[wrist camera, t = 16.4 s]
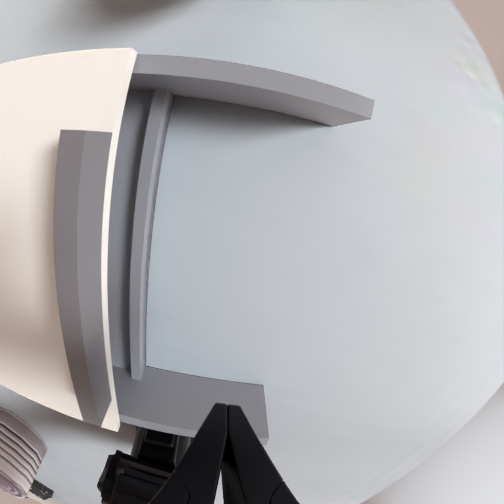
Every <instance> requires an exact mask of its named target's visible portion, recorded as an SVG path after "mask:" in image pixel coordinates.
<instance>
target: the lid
mask: <svg viewBox="0 0 504 504" xmlns="http://www.w3.org/2000/svg"><path fill="white" fill-rule="evenodd" d="M136 56H137V52H136V51H135V50H134V49H133V48H107V49H90V50H79V51H69V52H61V53H53V54H47V55H41V56H35V57H29V58H24V59H19V60H15V61H10V62H6V63H2V64H0V384H1V385H3V386H5V387H6V388H8V389H10V390H12V391H14V392H16V393H18V394H20V395H22V396H24V397H26V398H28V399H30V400H33V401H35V402H37V403H39V404H41V405H44V406H46V407H48V408H51V409H53V410H56V411H58V412H60V413H63V414H66V415H68V416H71V417H73V418H76V419H79V420H82V421H84V422H87V423H90V424H93V425H96V426H99V427H103V428H106V429H109V430H112V431H116V432H118V430H119V427H120V419H119V413H118V407H117V401H116V394H115V387H114V379H113V371H112V361H111V351H110V338H109V322H108V294H107V259H108V232H109V215H110V203H111V192H112V182H113V173H114V165H115V158H116V151H117V144H118V138H119V132H120V127H121V121H122V116H123V111H124V106H125V101H126V96H127V92H128V88H129V83H130V79H131V75H132V71H133V67H134V64H135V60H136Z"/></svg>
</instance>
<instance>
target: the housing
mask: <svg viewBox="0 0 504 504" xmlns="http://www.w3.org/2000/svg"><path fill="white" fill-rule="evenodd" d="M174 95H177V96H186V97H194V98H202V99H209V100H216V101H222V102H228V103H234V104H240V105H245V106H251V107H256V108H261V109H266V110H270V111H275V112H279V113H284V114H288V115H292V116H296V117H300V118H304V119H308V120H312V121H315V122H319V123H322V124H326V125H329V126H338V125H342V124H347V123H352V122H357V121H362V120H368V119H371V116H372V110H373V105H374V100H372V99H370V98H367V97H364V96H361V95H359V94H356V93H353V92H350V91H347V90H344V89H341V88H338V87H335V86H331V85H328V84H325V83H321V82H318V81H315V80H311V79H307V78H304V77H300V76H296V75H292V74H288V73H284V72H279V71H275V70H270V69H265V68H260V67H255V66H250V65H244V64H238V63H232V62H226V61H219V60H211V59H202V58H193V57H182V56H167V55H142V54H137V56H136V60H135V64H134V67H133V71H132V75H131V79H130V83H129V88H128V92H127V96H126V101H125V106H124V111H123V116H122V121H121V127H120V132H119V138H118V144H117V151H116V158H115V165H114V173H113V182H112V192H111V203H110V215H109V232H108V259H107V294H108V322H109V338H110V351H111V361H112V371H113V379H114V387H115V394H116V401H117V407H118V413H119V419H120V422H124V423H128V424H131V425H135V426H139V427H143V428H148V429H152V430H157V431H161V432H166V433H171V434H176V435H182V436H188V437H195V435H196V434H197V432H198V430H199V429H200V427H201V425H202V424H203V422H204V420H205V419H206V417H207V415H208V414H209V412H210V410H211V409H212V407H213V405H214V404H215V403H216V402H218V403H225V404H227V405H228V404H234V405H239V406H241V408H242V410H243V412H244V413H245V415H246V417H247V419H248V421H249V423H250V424H251V426H252V428H253V430H254V432H255V433H256V435H257V437H258V439H259V440H260V442H261V444H262V445H266V443H267V441H268V439H269V435H268V425H267V416H266V406H265V396H264V386H263V385H257V384H248V383H239V382H232V381H224V380H217V379H211V378H205V377H199V376H193V375H187V374H182V373H176V372H171V371H166V370H162V369H157V368H152V367H148V366H146V315H147V291H148V275H149V261H150V249H151V238H152V228H153V219H154V210H155V202H156V195H157V187H158V180H159V174H160V167H161V161H162V155H163V149H164V143H165V138H166V132H167V127H168V122H169V117H170V112H171V108H172V103H173V98H174Z"/></svg>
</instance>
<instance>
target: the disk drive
mask: <svg viewBox="0 0 504 504" xmlns="http://www.w3.org/2000/svg"><path fill="white" fill-rule="evenodd" d="M29 491H30V492H32V493H33V494H35V495H37V496H38V497H40V498H42V499H43V500H45V499H48V498H52V495H53V492H54V491H52V490H51V489H49V488H47V487H46V486H44V485H43V484H41V483H39V482H38V481H36V480H35V479H34V480H33V483H32V485H31V487H30V490H29Z"/></svg>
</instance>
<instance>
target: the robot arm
mask: <svg viewBox="0 0 504 504" xmlns="http://www.w3.org/2000/svg"><path fill="white" fill-rule="evenodd" d="M136 428H137V434H136V437H135V441H134V444H133V448H132V452H131V455H128V454H125V453H122V451H119V450H117V451H116V453H115V454H114V455H109V456H108V459H107V462H106V465H105V468H104V470H103V473H102V475H101V477H100V479H99V481H98V484H97V488H98V489H99V491H100V492H101V497H102V502H101V503H102V504H214V500H215V495H216V490H217V485H218V480H219V476H220V471H221V474H222V487H223V499H224V504H300V503H299V502H298V501H297V500H296V498H295V497H294V495H293V494H292V493H291V491H290V490H289V488H288V487H287V485H286V483H285V482H284V481H283V479H282V477H281V476H280V474H279V472H278V471H277V469H276V467H275V466H274V464H273V463H272V461H271V459H270V457H269V456H268V454H267V452H266V451H265V449H264V447H263V446H262V444H261V442H260V440H259V439H258V437H257V435H256V433H255V432H254V430H253V428H252V426H251V424H250V423H249V421H248V419H247V417H246V415H245V413H244V412H243V410H242V408H241V406H239V405H234V404H228V405H227V404H225V403H218V402H216V403H215V404H214V405H213V407H212V409H211V410H210V412H209V414H208V415H207V417H206V419H205V420H204V422H203V424H202V425H201V427H200V429H199V430H198V432H197V434H196V435H195V437H188V436H182V435H176V434H171V433H166V432H161V431H157V430H152V429H148V428H143V427H139V426H136Z"/></svg>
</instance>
